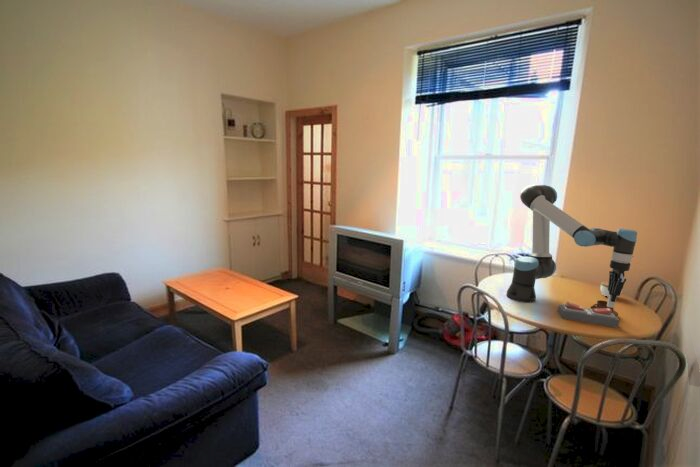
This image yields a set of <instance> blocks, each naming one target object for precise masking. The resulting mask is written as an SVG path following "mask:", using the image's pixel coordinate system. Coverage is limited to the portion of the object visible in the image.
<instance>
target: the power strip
mask: <svg viewBox="0 0 700 467" xmlns="http://www.w3.org/2000/svg"><path fill="white" fill-rule="evenodd" d="M581 307H582V308H583V309H584V310H583V311H581V310H577V309H575V308H572V307H569V306H568V305H567V304H566V303H562V304H561V303H560V304H559V303H558V306H557V313H558V315H559V316H560V318H561V319H564V320H565V319H566V320H570V321H571V320H572V321H576V322H582V323H587V324H588V323H589V324H594V325H600V326H604V327H605V326H606V327H612V328H615V329H616V328H619V325H620V318H618V316H615V315H614V314H613V313H601V314H599V313H595V312H594V311H593V309H591V308H586V307H583V306H581Z"/></svg>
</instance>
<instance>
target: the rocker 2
mask: <svg viewBox="0 0 700 467" xmlns="http://www.w3.org/2000/svg"><path fill="white" fill-rule="evenodd" d="M593 311H594V312H595V313H599V314H601V313H612V310H611V309H610V308H594V309H593Z"/></svg>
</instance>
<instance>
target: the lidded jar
mask: <svg viewBox="0 0 700 467" xmlns="http://www.w3.org/2000/svg"><path fill="white" fill-rule="evenodd" d="M608 284H609V281H601V283H600V293H601V294H602V296H603V295H604V296H603V297H605V296H607V297H606V298H608V297H609V291H608ZM623 289H624V287H623V288H622V291H621V293H622V292H623ZM618 297H619V296H617V298H618Z"/></svg>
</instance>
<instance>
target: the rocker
mask: <svg viewBox="0 0 700 467" xmlns="http://www.w3.org/2000/svg"><path fill="white" fill-rule="evenodd" d="M565 305H568V306H569V307H572V308H575V309H577V310H581V311H583V310H584V309H583V308H584V307H583V306H581V305H577V304H575V303H573V302H570V301H566V303H565ZM582 307H583V308H582Z"/></svg>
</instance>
